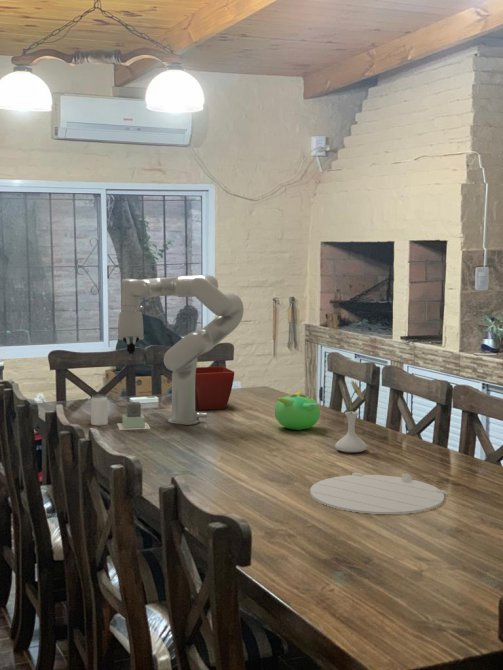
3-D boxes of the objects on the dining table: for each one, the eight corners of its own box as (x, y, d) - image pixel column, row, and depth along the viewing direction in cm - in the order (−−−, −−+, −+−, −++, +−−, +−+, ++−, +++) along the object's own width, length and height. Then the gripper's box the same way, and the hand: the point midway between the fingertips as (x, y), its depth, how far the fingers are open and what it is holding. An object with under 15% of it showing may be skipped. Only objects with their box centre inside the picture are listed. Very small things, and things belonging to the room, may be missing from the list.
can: (106, 427, 357) (105, 397, 356) (89, 427, 357) (89, 397, 356) (109, 424, 364) (108, 394, 362) (92, 423, 364) (92, 394, 363)
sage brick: (142, 423, 361) (142, 413, 361) (144, 427, 354) (144, 417, 353) (122, 424, 360) (122, 414, 359) (124, 428, 352) (124, 418, 351)
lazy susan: (358, 471, 296) (358, 460, 296) (468, 493, 271) (468, 482, 271) (283, 497, 265) (283, 486, 265) (400, 525, 241) (401, 512, 240)
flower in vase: (365, 455, 316) (367, 384, 313) (333, 453, 318) (334, 383, 315) (368, 447, 328) (370, 379, 326) (337, 445, 330) (338, 377, 328)
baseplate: (146, 424, 364) (146, 422, 364) (150, 430, 352) (150, 428, 352) (116, 425, 361) (116, 423, 361) (119, 431, 350) (119, 429, 349)
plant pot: (182, 404, 408) (182, 367, 406) (223, 402, 414) (223, 366, 412) (192, 412, 390) (192, 373, 388) (234, 410, 396) (235, 372, 394)
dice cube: (127, 417, 354) (127, 404, 353) (126, 414, 359) (126, 402, 358) (140, 416, 355) (140, 404, 354) (139, 414, 360) (139, 401, 359)
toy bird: (320, 425, 365) (321, 389, 364) (319, 434, 348) (320, 397, 347) (275, 424, 367) (276, 388, 365) (272, 433, 350) (273, 395, 349)
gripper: (147, 308, 376) (148, 352, 378) (111, 308, 372) (111, 352, 374) (150, 309, 369) (150, 354, 371) (113, 310, 365) (113, 355, 367)
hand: (130, 353), depth 372 cm, fingers closed
